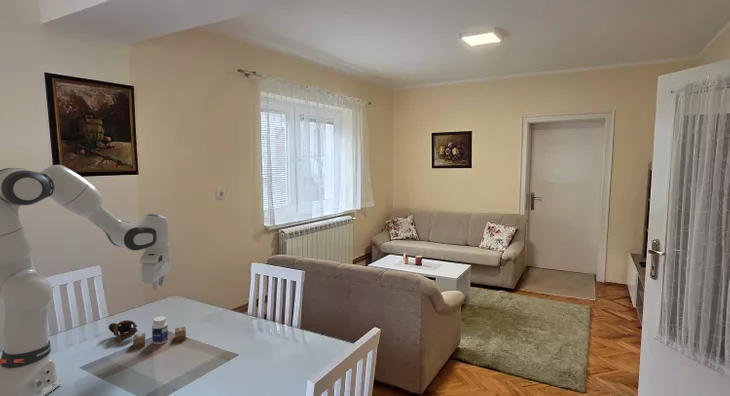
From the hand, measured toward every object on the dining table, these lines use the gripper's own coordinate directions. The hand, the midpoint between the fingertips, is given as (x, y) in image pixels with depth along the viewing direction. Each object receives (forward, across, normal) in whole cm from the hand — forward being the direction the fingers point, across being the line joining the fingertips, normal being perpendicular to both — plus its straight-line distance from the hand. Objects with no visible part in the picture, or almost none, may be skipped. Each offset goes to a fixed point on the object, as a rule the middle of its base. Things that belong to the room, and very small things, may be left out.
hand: (158, 287), depth 162 cm
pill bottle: (+23, 0, 0) cm, 23 cm away
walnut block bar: (+23, -3, +7) cm, 24 cm away
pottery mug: (+23, -5, -17) cm, 29 cm away
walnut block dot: (+23, +3, -7) cm, 24 cm away
